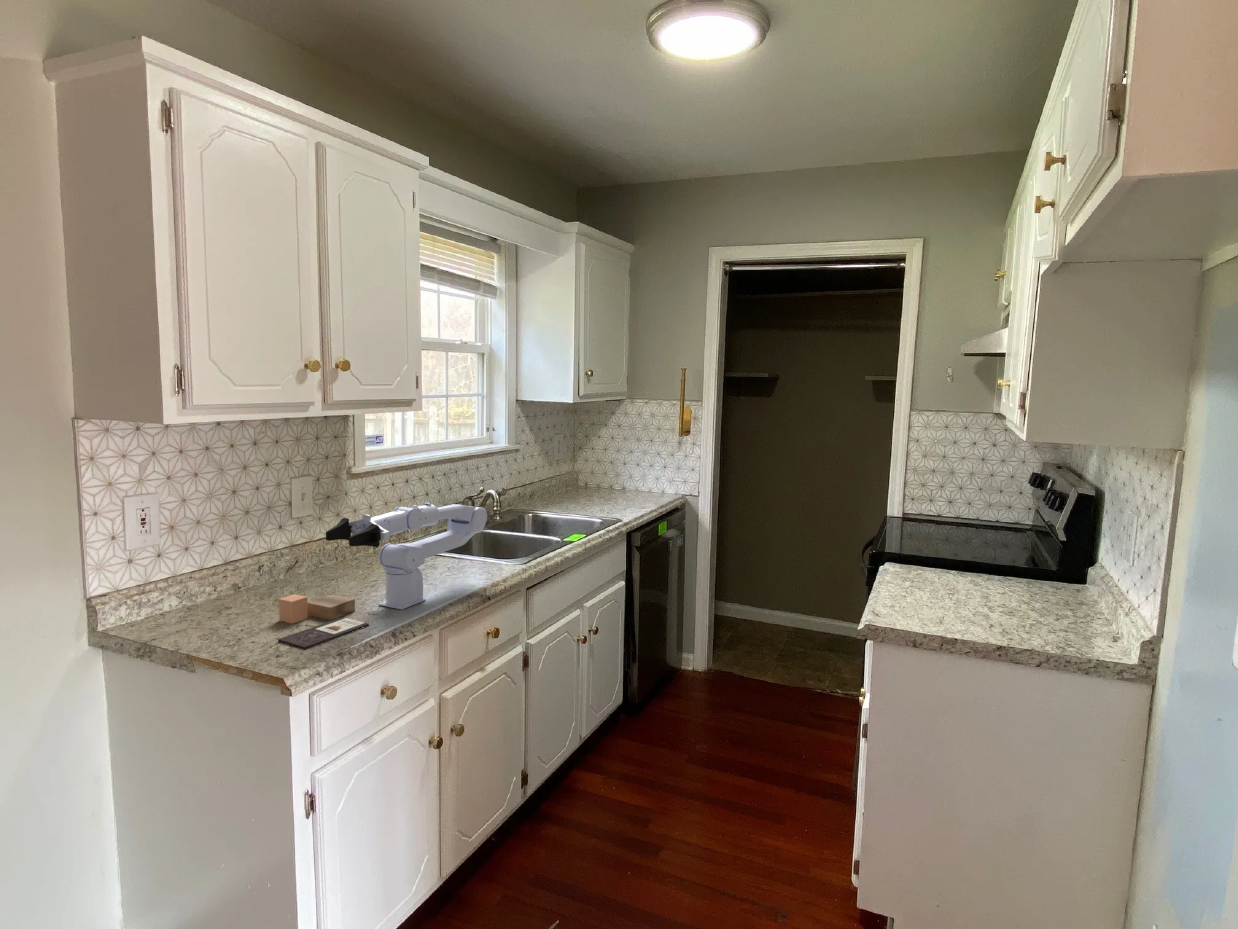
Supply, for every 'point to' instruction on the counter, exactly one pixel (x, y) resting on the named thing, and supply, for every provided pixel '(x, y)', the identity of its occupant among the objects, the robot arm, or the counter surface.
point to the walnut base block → (330, 607)
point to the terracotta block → (293, 608)
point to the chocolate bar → (322, 633)
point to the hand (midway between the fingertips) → (338, 539)
